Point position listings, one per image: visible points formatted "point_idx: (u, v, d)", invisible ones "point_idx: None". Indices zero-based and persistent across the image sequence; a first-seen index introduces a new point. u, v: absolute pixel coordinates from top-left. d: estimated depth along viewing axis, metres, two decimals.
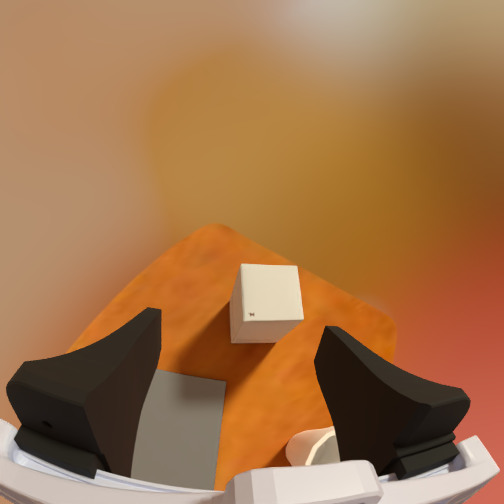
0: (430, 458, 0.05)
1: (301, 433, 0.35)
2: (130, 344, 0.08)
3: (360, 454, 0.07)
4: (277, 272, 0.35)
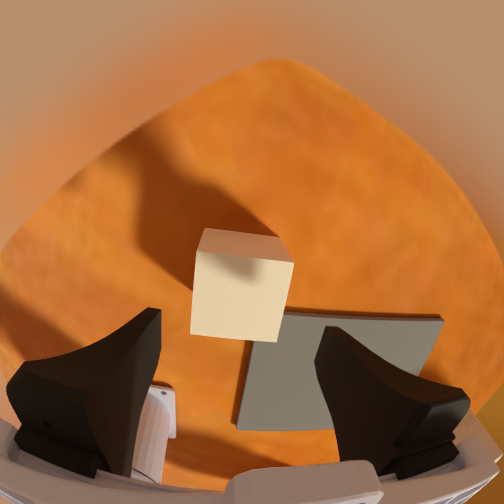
0: (430, 458, 0.05)
1: None
2: (130, 344, 0.08)
3: (360, 454, 0.07)
4: None
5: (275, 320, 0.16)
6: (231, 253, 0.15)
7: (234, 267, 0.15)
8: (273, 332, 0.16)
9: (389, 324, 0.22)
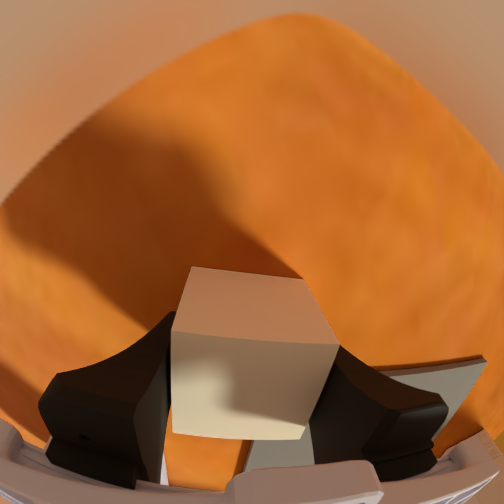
0: (403, 467, 0.05)
1: None
2: (162, 349, 0.08)
3: (332, 458, 0.07)
4: None
5: (301, 417, 0.09)
6: (232, 333, 0.08)
7: (239, 356, 0.08)
8: (297, 429, 0.10)
9: (431, 375, 0.15)
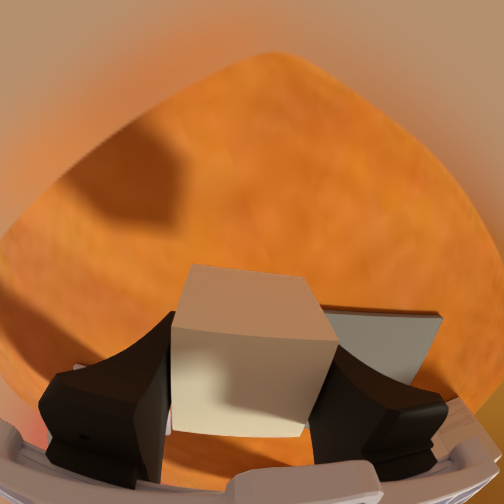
0: (403, 467, 0.05)
1: None
2: (162, 350, 0.08)
3: (332, 458, 0.07)
4: None
5: (301, 414, 0.09)
6: (232, 329, 0.08)
7: (239, 351, 0.08)
8: (296, 427, 0.10)
9: (386, 320, 0.22)
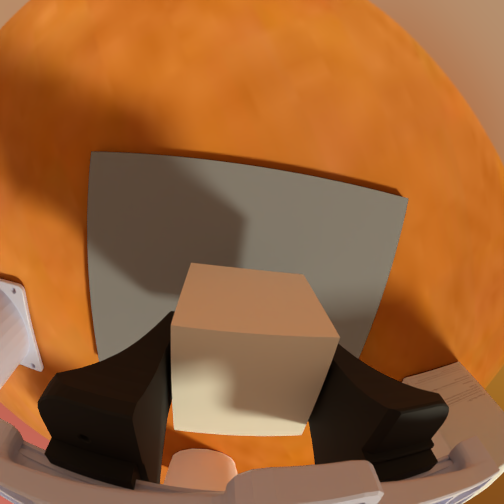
0: (403, 466, 0.05)
1: None
2: (162, 349, 0.08)
3: (332, 458, 0.07)
4: (494, 479, 0.11)
5: (302, 412, 0.09)
6: (232, 327, 0.08)
7: (239, 350, 0.08)
8: (298, 425, 0.10)
9: (298, 181, 0.15)
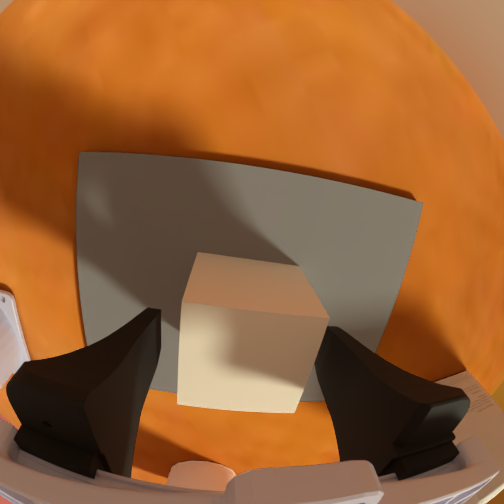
0: (430, 458, 0.05)
1: None
2: (130, 344, 0.08)
3: (360, 454, 0.07)
4: None
5: (295, 389, 0.11)
6: (235, 305, 0.10)
7: (241, 325, 0.10)
8: (291, 402, 0.11)
9: (306, 183, 0.13)
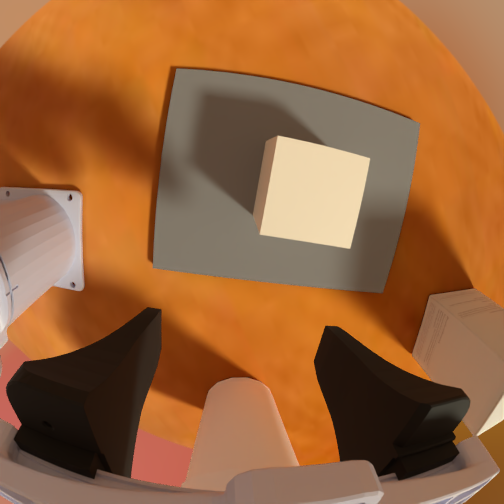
0: (430, 458, 0.05)
1: (276, 408, 0.23)
2: (130, 344, 0.08)
3: (360, 454, 0.07)
4: None
5: (351, 221, 0.15)
6: (311, 143, 0.14)
7: (315, 156, 0.14)
8: (348, 235, 0.15)
9: (340, 100, 0.17)
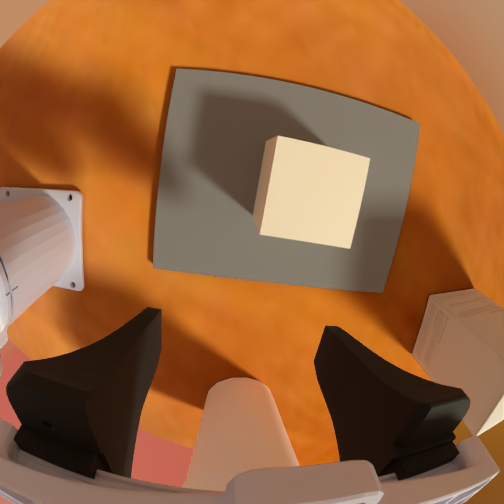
0: (430, 458, 0.05)
1: None
2: (130, 344, 0.08)
3: (360, 454, 0.07)
4: None
5: (351, 221, 0.15)
6: (311, 143, 0.14)
7: (315, 156, 0.14)
8: (348, 235, 0.15)
9: (340, 100, 0.17)
